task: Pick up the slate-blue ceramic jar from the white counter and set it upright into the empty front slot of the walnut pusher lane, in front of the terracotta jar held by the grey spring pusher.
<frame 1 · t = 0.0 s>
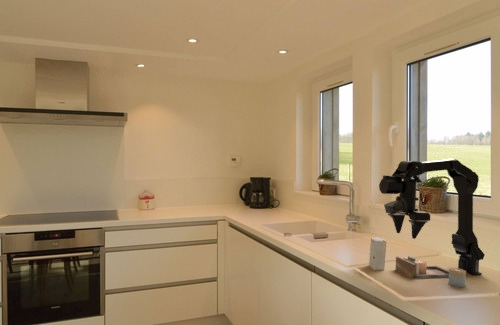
hand: (405, 235, 133), 15 cm above the countertop, fingers open, 9 cm apart
slate jar: (456, 287, 121), on the countertop
skincare box: (376, 270, 137), on the countertop
jar: (418, 273, 132), point 1 cm above the countertop, touching lane
lane: (424, 275, 132), on the countertop
pusher: (411, 265, 131), point 4 cm above the countertop, slide at 0.0 cm
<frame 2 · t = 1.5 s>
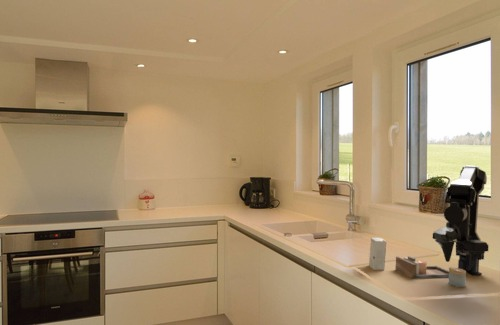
hand: (457, 265, 121), 7 cm above the countertop, fingers open, 9 cm apart
nothing on the countertop moved.
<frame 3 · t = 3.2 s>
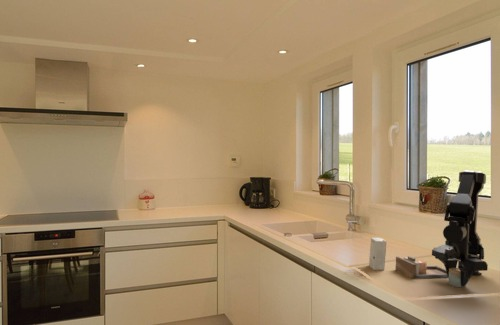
hand: (456, 283, 121), 1 cm above the countertop, fingers closed on slate jar, 5 cm apart
slate jar: (456, 287, 121), on the countertop, touching gripper
everything else where it was.
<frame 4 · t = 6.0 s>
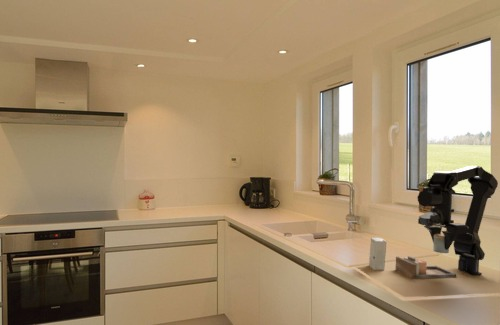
hand: (441, 247, 131), 11 cm above the countertop, fingers closed on slate jar, 5 cm apart
slate jar: (440, 251, 131), point 10 cm above the countertop, touching gripper
everything else where it was.
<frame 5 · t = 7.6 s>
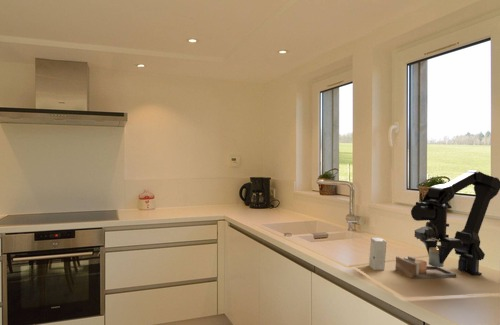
hand: (436, 261, 133), 5 cm above the countertop, fingers closed on slate jar, 5 cm apart
slate jar: (435, 264, 133), point 4 cm above the countertop, touching gripper
everything else where it was.
when the fingers open (3 cm above the countertop, at t = 8.9 s): slate jar stays where it is, resting on lane.
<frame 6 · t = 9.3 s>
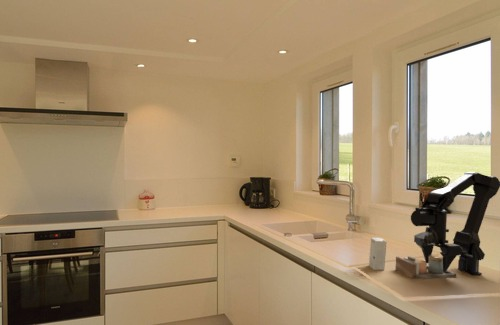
hand: (435, 266, 133), 3 cm above the countertop, fingers open, 9 cm apart
slate jar: (435, 272, 133), point 1 cm above the countertop, touching lane
everything else where it was.
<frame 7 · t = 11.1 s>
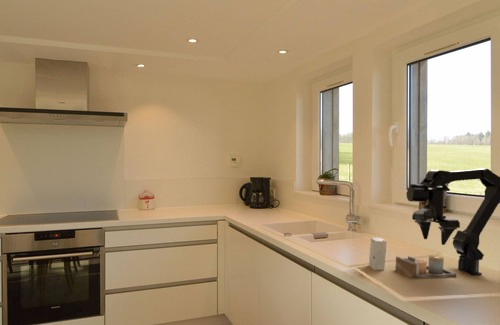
hand: (434, 241, 138), 12 cm above the countertop, fingers open, 9 cm apart
nothing on the countertop moved.
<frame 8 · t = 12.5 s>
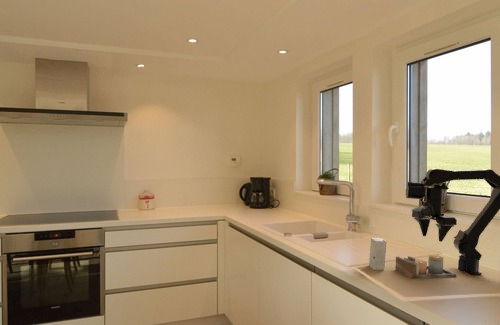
hand: (432, 238, 142), 12 cm above the countertop, fingers open, 9 cm apart
nothing on the countertop moved.
at the end: slate jar 0.0 cm from the target spot on the lane, point 1.0 cm above the lane's base; slate jar tilted 1°; the gripper is holding nothing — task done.
